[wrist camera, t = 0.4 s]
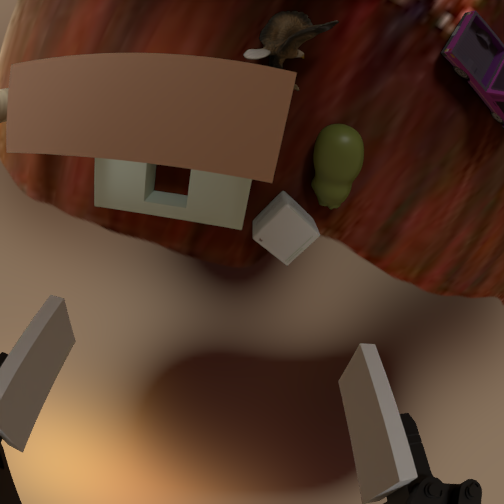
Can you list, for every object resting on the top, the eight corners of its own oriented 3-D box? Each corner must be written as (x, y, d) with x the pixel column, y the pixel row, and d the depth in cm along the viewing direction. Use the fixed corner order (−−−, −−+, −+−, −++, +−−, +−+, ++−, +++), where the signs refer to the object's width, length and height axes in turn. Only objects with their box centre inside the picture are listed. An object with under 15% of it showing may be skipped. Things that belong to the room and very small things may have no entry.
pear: (375, 136, 28) (355, 218, 34) (360, 122, 32) (344, 196, 38) (323, 128, 28) (308, 214, 34) (313, 115, 32) (302, 192, 38)
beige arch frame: (99, 66, 25) (11, 64, 13) (277, 82, 27) (297, 72, 14) (93, 123, 28) (6, 152, 16) (264, 143, 30) (272, 183, 17)
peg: (48, 83, 29) (-27, 94, 16) (68, 82, 29) (-6, 90, 17) (46, 109, 30) (-28, 128, 18) (66, 109, 31) (-8, 127, 18)
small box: (283, 248, 40) (286, 267, 36) (250, 220, 39) (250, 238, 34) (314, 218, 38) (322, 235, 34) (282, 188, 37) (286, 202, 32)
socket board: (118, 71, 29) (103, 70, 25) (269, 87, 31) (271, 86, 27) (107, 194, 37) (94, 206, 33) (243, 216, 38) (241, 230, 35)
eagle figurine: (314, 96, 30) (350, 30, 25) (282, 88, 25) (325, 6, 19) (262, 68, 32) (293, 7, 27) (224, 59, 27) (259, -14, 21)
